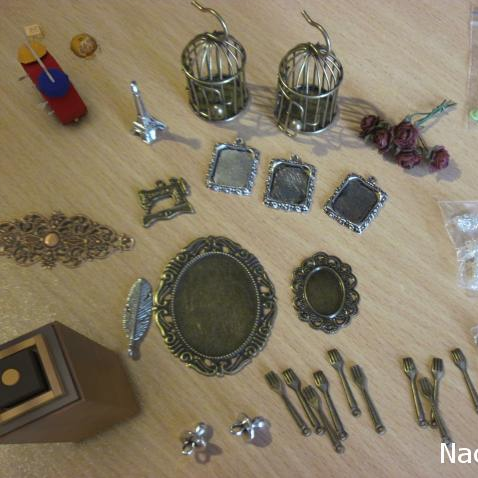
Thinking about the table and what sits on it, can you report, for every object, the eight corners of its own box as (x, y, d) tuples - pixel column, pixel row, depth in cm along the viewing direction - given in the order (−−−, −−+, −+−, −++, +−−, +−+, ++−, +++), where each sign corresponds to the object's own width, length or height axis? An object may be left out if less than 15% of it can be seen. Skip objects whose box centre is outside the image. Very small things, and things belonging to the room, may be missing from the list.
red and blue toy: (96, 123, 124) (66, 68, 106) (61, 143, 122) (24, 90, 103) (62, 78, 128) (27, 16, 109) (28, 96, 125) (-15, 36, 106)
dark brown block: (7, 408, 71) (-6, 407, 68) (-6, 370, 72) (-19, 367, 69) (49, 389, 72) (38, 386, 69) (36, 351, 74) (25, 347, 70)
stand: (79, 442, 102) (-16, 445, 68) (57, 382, 105) (-44, 356, 71) (141, 411, 105) (79, 399, 71) (118, 354, 108) (49, 316, 74)
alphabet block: (28, 35, 131) (23, 26, 128) (41, 31, 131) (36, 22, 128) (32, 45, 130) (26, 36, 127) (45, 41, 130) (40, 32, 128)
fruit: (95, 71, 129) (90, 61, 125) (64, 57, 129) (58, 46, 126) (115, 46, 132) (110, 36, 128) (84, 32, 132) (80, 21, 129)
